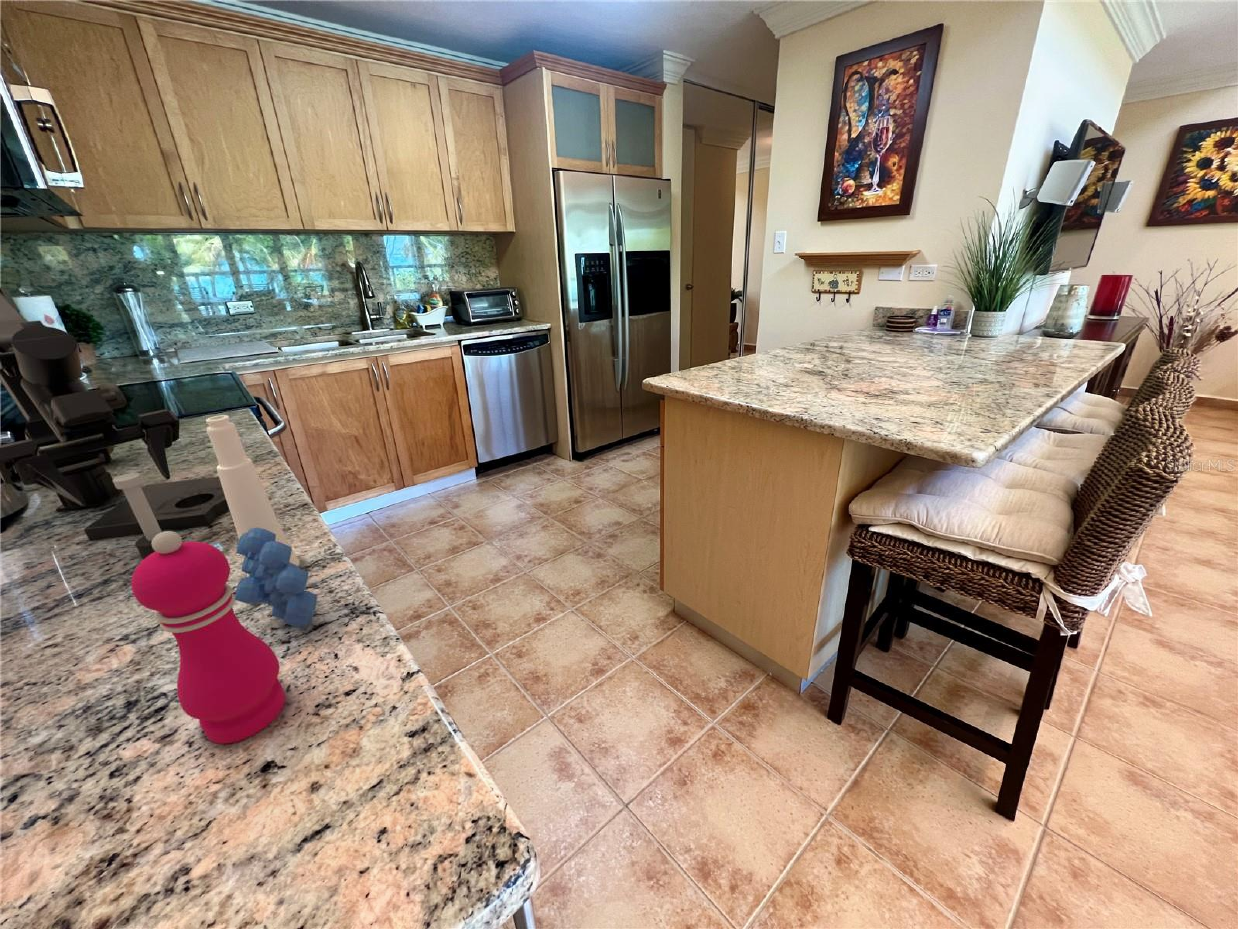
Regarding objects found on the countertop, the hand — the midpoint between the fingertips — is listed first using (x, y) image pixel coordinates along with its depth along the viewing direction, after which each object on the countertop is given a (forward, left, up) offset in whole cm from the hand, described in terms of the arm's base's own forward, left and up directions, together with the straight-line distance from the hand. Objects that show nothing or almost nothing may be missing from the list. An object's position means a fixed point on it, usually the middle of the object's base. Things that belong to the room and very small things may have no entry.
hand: (128, 490), depth 70 cm
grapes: (+25, -24, -10) cm, 36 cm away
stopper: (+2, -2, -9) cm, 10 cm away
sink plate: (-3, +13, -9) cm, 17 cm away
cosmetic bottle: (+20, -12, -10) cm, 25 cm away
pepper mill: (+26, -37, -10) cm, 46 cm away
